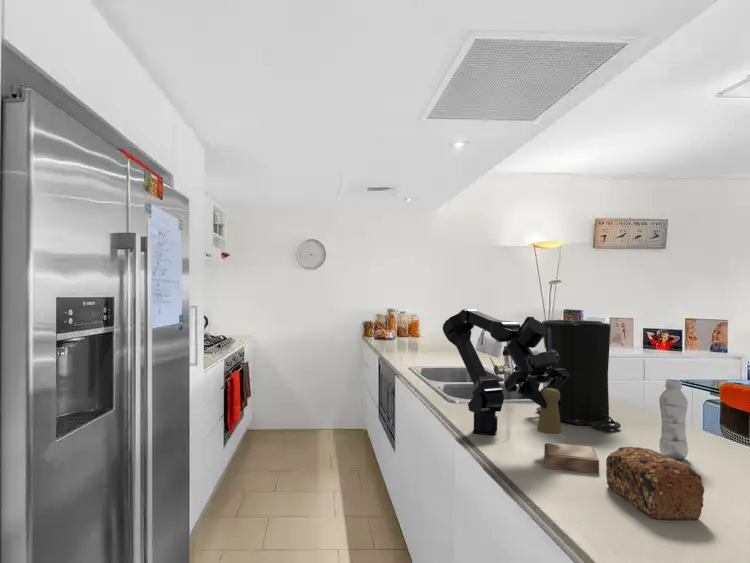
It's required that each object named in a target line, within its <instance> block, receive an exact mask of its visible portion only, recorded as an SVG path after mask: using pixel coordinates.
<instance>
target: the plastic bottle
mask: <svg viewBox="0 0 750 563" xmlns="http://www.w3.org/2000/svg"><path fill="white" fill-rule="evenodd" d="M682 384H683V381H682V380H681V379H679V380H678V379H671V378H670V379H665V384H664V387H665V388H666V389H665V390H664V391H663V392H662V393H661V394H660V395H659V396H660V397H659V398H658V399H659V409H660V414H661V415H660V416H661V430H660V432H661V433H660V438H659V445H658V447H659V453H661V454H663V455H666V456H669V457H671V458H674V459H675V460H683V459H686V458H687V457H688V454H689V446H688V441H687V434H686V433H687V432H686V421H687V420H686V419H687V411H688V406H689V405H688V404H689V402H688V399H687V396H685V393H684V392H683V391H682V390H681V389H682V388H683V386H682Z"/></svg>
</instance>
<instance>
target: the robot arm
mask: <svg viewBox="0 0 750 563" xmlns="http://www.w3.org/2000/svg"><path fill="white" fill-rule="evenodd" d="M474 327H478V328H480V329H482V330H484V331H486V332H488V333H489V335H490V337H491V338H492V339H494V341H497V342H498V343H508V344H507V345H505V346H503V350H502V356H504V357H506V356H507V357H508V356H509V357H510V358H511V360H512V362H513V363H514V364H515V366H514V367H513V369H514V371H512V372H511V374H509V376H508V377H507V378H506V380H505V381H504V385H503V386H504V388H505V390H506V392H507V393H514V392H516V391H517V390H518V391H517V393H518V394H519V395H522V396H524V397H526V398H527V399H529V400H531V401H532V402H533V403H536V404H537V406H539V407H543V408H546V407H547V404H546V402H545V400H544V398H543V396H542V394H541V393H540V391H541V390H540V389H538V387H537V383H540V384H544V386H545V388H553V389H556V390H558V391H559V387H560V386H561V384H562V383H563V382H564V381H565V380H566V379H567V378H568V377H569V376H570V375H569V373H568V372H567V370H566V369H553V370H552V371H551V372H550V373H549V374H545V372H547V371H548V370H549V368H548V367H549V366H551V365H553V364H557V362H558V361H559V360H560V357H559V354H558V353H557V352H556V351H555V350H550V351H549V352H546V351H542V352H539V353H536V354H534V352H533V351H532V350H531V349H533V348H536V347H537V346H538V345H539V343H540V342H541V341H542V340H543V337H544V336H545V335H546V333H547V328H546V326H545V325H544V324H542V322H541V321H539V319H538V320H537V319H536V318H535V317H534V316H527V317H526V318H525V319H524V321H523V323H522V324H520V323H518V322H517V321H511V320H501V319H498V318H496V317H495V318H494V317H493V316H490V315H488V314H486V313H483V312H481V311H478V310H477V309H475V308H463V309H462V310H460V311H459V312H458V313H457V314H454V315H453V316H450V317H449V318H448V319H446V320H445V321H444V323H443V324H442V332H443V334H444V336H445V338H446V339H447V340H448V341H449V343H451V344H452V345H453V346H455V347H456V349H457V351H458V353H459V356H460V358H461V359H462V362H463V363H464V364H463V365H464V366H465V368H466V371H467V373H468V375H469V377H470V380H471V381H472V384H473V386H472V396H473V397H472V398H471V400H470V401H469V402H468V403H467V406H468V407H467V408H468V411H469V412H472V413H473V429H472V433H473V434H480V435H491V436H494V435H495V434H496V433H497V431H498V420H499V419H498V417H499V416H497V414H496V413H497V412H500V413H501V411H502V407H503V404H504V401H505V395H504V393H503V392H504V389H503V388H502V387H501V384H500V382H499V380H498V378H493V379H492V378H490V377H489V376H488V373H487V371H486V369H485V367H484V365H483V363H482V361H481V359H480V357H479V355H478V353H477V351H476V349H475V347H474V345H473V343H472V341H471V337H472V330H473V329H474ZM517 385H518V387H517ZM518 388H519V389H518ZM559 392H560V391H559ZM558 406H559V407H561V406H562V400H561V396H560V400H559V401H558Z"/></svg>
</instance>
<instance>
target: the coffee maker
mask: <svg viewBox="0 0 750 563" xmlns="http://www.w3.org/2000/svg"><path fill="white" fill-rule="evenodd" d="M541 323H542V324H544V325H545V326H546V328H547V333H546V335H545V336H544V337H543V338H542V340H543V345H544V349H545V352H549V351H550V350H555V351H556V352H557V353H558V354H559V357H560V360H559V361H558V362H557V364H553V365H551V366H549V367H548V368H549V370H548V371H547V372H545V374H549V373H550V372H551V371H552V370H553V369H566V370H567V372H568V373H569V375H570V376H569V377H568V378H567V379H566V380H565V381H564V382H563V383H562V384H561V386H560V387H559V391H560V396H561V400H562V406H561V407H559V406H558V407H559V416H560V422H566V423H569V424H570V425H571V424H575V425H578V426H581V425H582V426H591V427H592V428H593V429H597V430H602V432H606V433H607V432H610V431H614V430H617V429H620V428H621V427H622V426H621V423H620V422H618V421H615V420H614V419H613V418H612V417H611V416H610V405H609V403H610V402H609V400H610V399H609V366H610V364H609V362H610V361H609V360H610V344H611V342H610V340H611V327H612V326H611V324H610V323H606V322H603V321H601V320H585V319H583V320H582V319H581V320H580V319H546V320H542V322H541ZM540 386H541V383H537V387H538V389H539V388H540ZM544 388H545V386H544V384H543V385H542V389H544ZM539 390H540V389H539ZM540 407H541V406H539V407H537V408H535V409H536V411H537V412H539V413H540Z"/></svg>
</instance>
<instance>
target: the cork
mask: <svg viewBox="0 0 750 563" xmlns="http://www.w3.org/2000/svg"><path fill="white" fill-rule="evenodd" d="M539 391H540V393H541V394H542V396H543V398H544V400H545V402H546V404H547V407H546V408H543V407H541V406H539V407H540V412H539V414H538V421H537V429H536V431H537V432H539V433H541V434H547V435H559V434H561V433H562V426H561V424H562V423H561V421H560V416H559V407H558V401H559V400H560V392H559V391H558V390H556V389H553V388H544V389H543V388H541V389H540V390H539Z"/></svg>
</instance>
